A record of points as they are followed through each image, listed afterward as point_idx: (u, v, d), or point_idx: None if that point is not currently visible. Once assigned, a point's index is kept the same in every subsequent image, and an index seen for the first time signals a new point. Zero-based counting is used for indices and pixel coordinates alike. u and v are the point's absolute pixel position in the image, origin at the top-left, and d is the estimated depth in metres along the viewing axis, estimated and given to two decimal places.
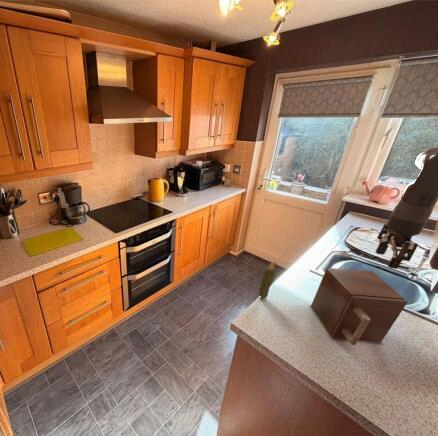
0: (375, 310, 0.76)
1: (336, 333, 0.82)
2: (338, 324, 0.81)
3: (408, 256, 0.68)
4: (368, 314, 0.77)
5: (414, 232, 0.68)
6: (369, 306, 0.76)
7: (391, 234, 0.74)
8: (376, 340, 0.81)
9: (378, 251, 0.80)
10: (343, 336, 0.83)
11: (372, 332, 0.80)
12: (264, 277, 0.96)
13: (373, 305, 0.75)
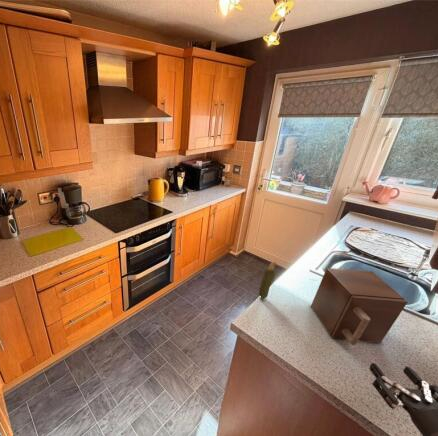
0: (375, 310, 0.76)
1: (336, 333, 0.82)
2: (338, 324, 0.81)
3: (378, 388, 0.60)
4: (368, 314, 0.77)
5: (415, 422, 0.54)
6: (369, 306, 0.76)
7: (426, 401, 0.55)
8: (376, 340, 0.81)
9: (408, 370, 0.63)
10: (343, 336, 0.83)
11: (372, 332, 0.80)
12: (264, 277, 0.96)
13: (373, 305, 0.75)
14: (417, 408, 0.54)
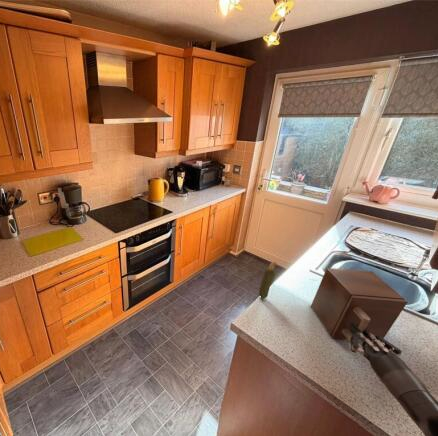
0: (375, 310, 0.76)
1: (336, 333, 0.82)
2: (338, 324, 0.81)
3: None
4: (368, 314, 0.77)
5: (373, 367, 0.65)
6: (369, 306, 0.76)
7: (383, 351, 0.67)
8: None
9: None
10: (343, 336, 0.83)
11: (372, 332, 0.80)
12: (264, 277, 0.96)
13: (373, 305, 0.75)
14: (376, 356, 0.66)
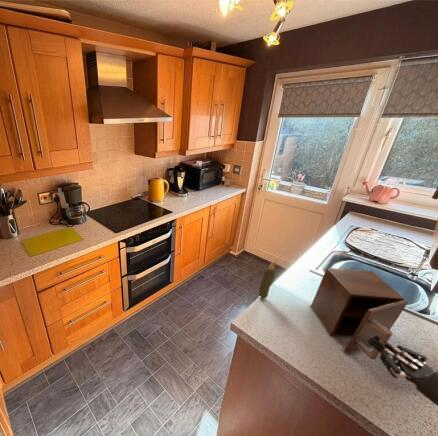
0: (384, 317, 0.74)
1: (351, 348, 0.77)
2: (353, 340, 0.76)
3: (384, 361, 0.67)
4: (378, 322, 0.74)
5: (423, 391, 0.60)
6: (381, 315, 0.72)
7: (419, 366, 0.63)
8: None
9: (378, 339, 0.71)
10: (355, 349, 0.78)
11: None
12: (264, 277, 0.96)
13: (384, 313, 0.72)
14: (419, 377, 0.61)
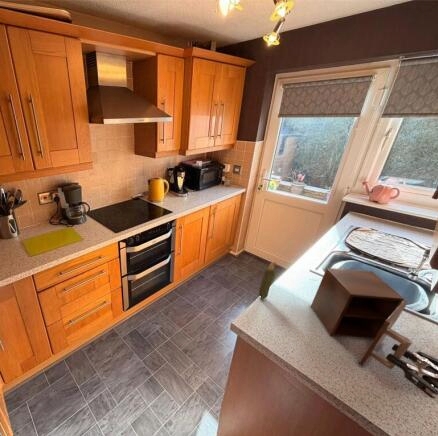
0: (393, 322, 0.72)
1: (366, 360, 0.74)
2: (369, 351, 0.72)
3: (412, 380, 0.62)
4: None
5: None
6: (392, 322, 0.70)
7: None
8: (380, 343, 0.80)
9: None
10: (368, 358, 0.75)
11: (382, 340, 0.78)
12: (264, 277, 0.96)
13: (394, 319, 0.70)
14: None
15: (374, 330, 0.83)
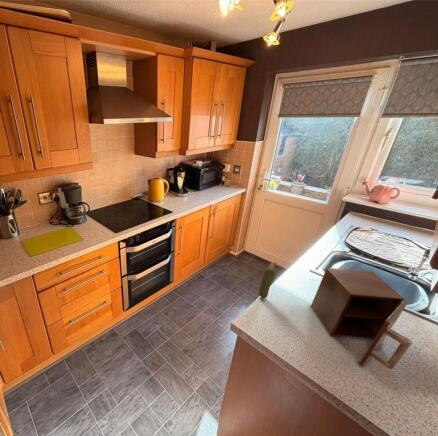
0: (393, 322, 0.72)
1: (366, 360, 0.74)
2: (369, 351, 0.72)
3: None
4: None
5: None
6: (392, 322, 0.70)
7: None
8: (380, 343, 0.80)
9: None
10: (368, 358, 0.75)
11: (382, 340, 0.78)
12: (264, 277, 0.96)
13: (394, 319, 0.70)
14: None
15: (374, 330, 0.83)
